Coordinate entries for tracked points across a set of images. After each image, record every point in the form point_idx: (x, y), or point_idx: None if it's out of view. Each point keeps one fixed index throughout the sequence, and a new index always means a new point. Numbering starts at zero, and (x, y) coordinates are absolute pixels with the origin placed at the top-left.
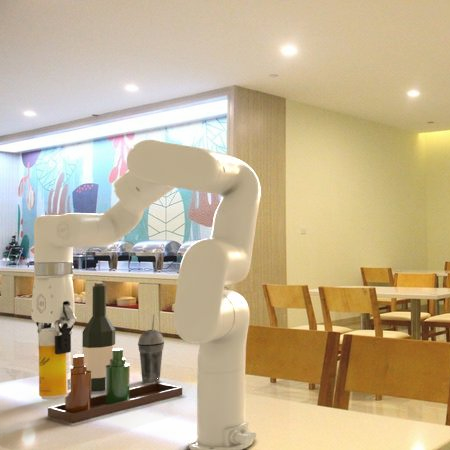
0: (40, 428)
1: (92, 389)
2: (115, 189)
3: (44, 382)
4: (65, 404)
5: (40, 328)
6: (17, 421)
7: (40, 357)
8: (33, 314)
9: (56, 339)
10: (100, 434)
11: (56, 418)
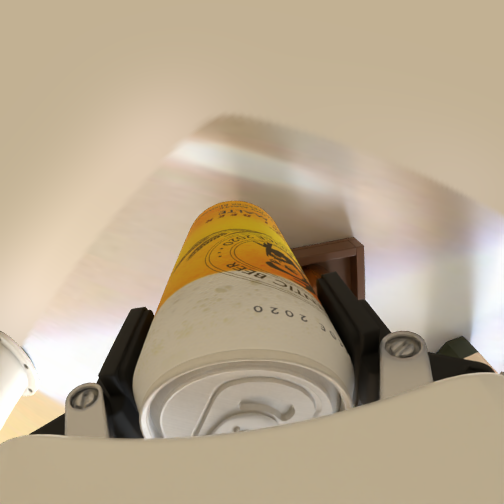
0: (284, 199)
1: (445, 352)
2: None
3: (203, 220)
4: (317, 276)
5: (386, 369)
6: (384, 182)
7: (223, 243)
8: (487, 437)
9: (105, 361)
10: (136, 278)
11: (318, 246)
